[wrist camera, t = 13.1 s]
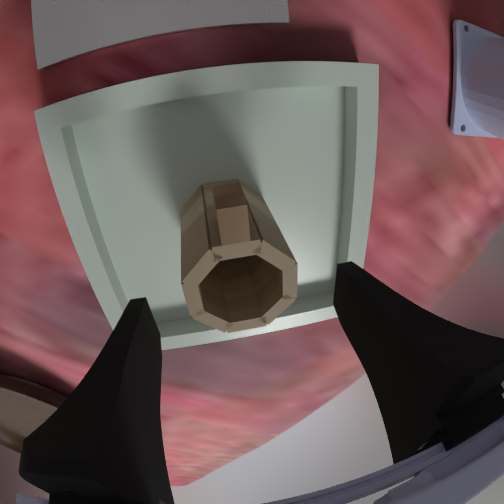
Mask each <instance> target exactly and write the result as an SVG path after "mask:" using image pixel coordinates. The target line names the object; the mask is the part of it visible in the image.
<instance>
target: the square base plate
mask: <svg viewBox="0 0 504 504" xmlns="http://www.w3.org/2000/svg"><path fill="white" fill-rule="evenodd" d="M31 9H32V25H33V36H34V46H35V54H36V62H37V69H38V70H39V69H45V68H48V67H50V66H53V65H55V64H58V63H61V62H64V61H67V60H69V59H72V58H75V57H78V56H81V55H85V54H88V53H91V52H94V51H98V50H101V49H105V48H108V47H112V46H116V45H120V44H124V43H128V42H132V41H137V40H141V39H146V38H151V37H156V36H161V35H166V34H172V33H178V32H185V31H192V30H199V29H207V28H217V27H228V26H241V25H262V24H286V23H289V12H288V0H31Z"/></svg>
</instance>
